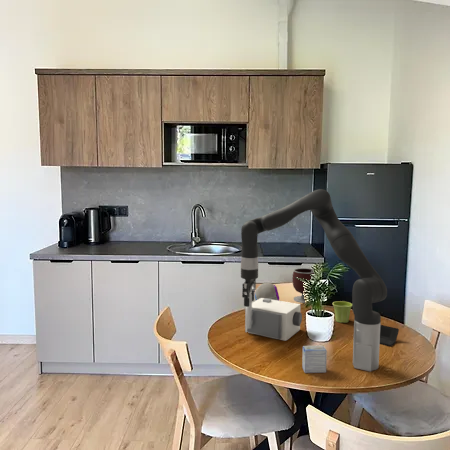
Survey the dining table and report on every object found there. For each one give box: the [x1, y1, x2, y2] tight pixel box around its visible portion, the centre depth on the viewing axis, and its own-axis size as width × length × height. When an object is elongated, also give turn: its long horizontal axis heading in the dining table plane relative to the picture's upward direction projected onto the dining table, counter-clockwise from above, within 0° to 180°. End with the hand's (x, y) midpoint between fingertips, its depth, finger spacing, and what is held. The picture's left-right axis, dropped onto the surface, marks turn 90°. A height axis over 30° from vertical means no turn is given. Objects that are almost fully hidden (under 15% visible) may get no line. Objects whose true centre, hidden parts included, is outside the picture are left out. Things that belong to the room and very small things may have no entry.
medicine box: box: [301, 345, 328, 374], centre depth 157 cm, size 8×4×9 cm, turn 92°
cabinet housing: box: [244, 298, 303, 342], centre depth 196 cm, size 16×22×13 cm
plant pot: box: [332, 300, 353, 324], centre depth 210 cm, size 9×9×9 cm
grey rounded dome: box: [254, 282, 280, 301], centre depth 225 cm, size 13×13×15 cm
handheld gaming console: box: [380, 324, 400, 348], centre depth 186 cm, size 12×7×10 cm
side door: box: [246, 293, 282, 340], centre depth 187 cm, size 5×16×18 cm, turn 59°
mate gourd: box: [292, 267, 314, 304], centre depth 245 cm, size 16×14×20 cm
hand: (249, 303), depth 189 cm, fingers open, 8 cm apart
